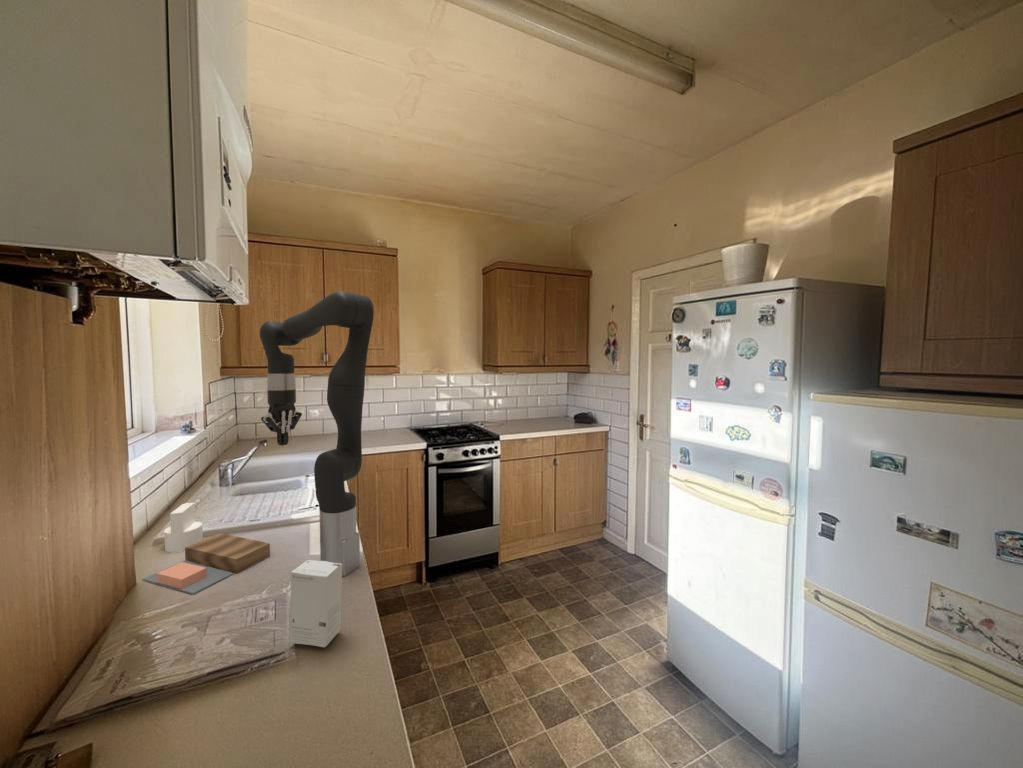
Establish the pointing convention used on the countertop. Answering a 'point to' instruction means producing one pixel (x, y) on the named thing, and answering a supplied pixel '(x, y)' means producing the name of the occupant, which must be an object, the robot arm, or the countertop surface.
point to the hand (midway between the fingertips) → (283, 444)
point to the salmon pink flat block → (181, 575)
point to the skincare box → (315, 603)
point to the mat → (211, 579)
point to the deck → (227, 552)
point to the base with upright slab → (182, 529)
